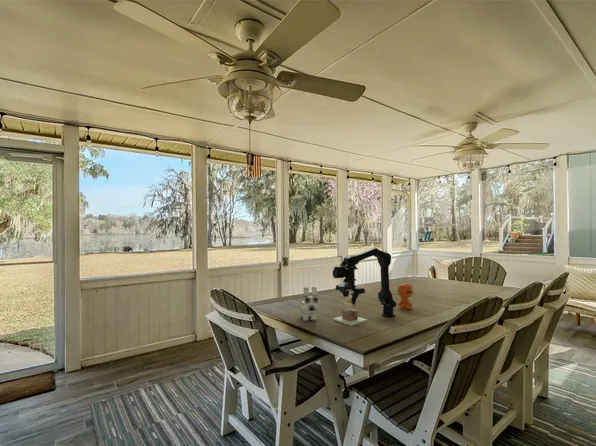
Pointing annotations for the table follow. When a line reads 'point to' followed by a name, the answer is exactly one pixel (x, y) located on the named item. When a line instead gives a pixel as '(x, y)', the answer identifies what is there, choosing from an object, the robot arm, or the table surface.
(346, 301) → the maple block
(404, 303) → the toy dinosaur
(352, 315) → the walnut block
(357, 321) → the plate
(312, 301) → the toy rabbit
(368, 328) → the table surface
